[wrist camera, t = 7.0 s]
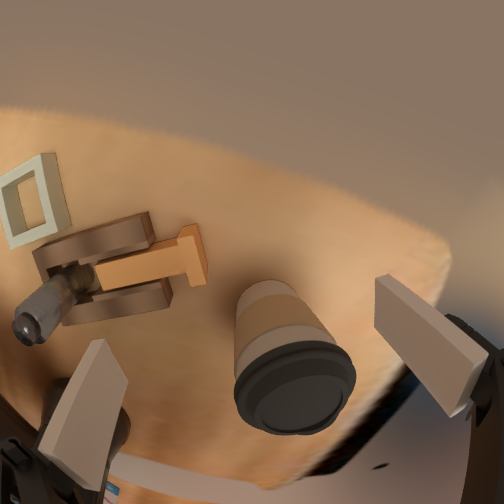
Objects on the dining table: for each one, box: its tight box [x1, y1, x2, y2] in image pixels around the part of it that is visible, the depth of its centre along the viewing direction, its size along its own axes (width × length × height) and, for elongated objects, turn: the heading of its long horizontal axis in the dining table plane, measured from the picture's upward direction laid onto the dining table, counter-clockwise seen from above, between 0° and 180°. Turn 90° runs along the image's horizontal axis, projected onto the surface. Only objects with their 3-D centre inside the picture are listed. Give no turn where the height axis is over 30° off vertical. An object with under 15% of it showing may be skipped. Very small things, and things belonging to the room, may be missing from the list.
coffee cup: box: [234, 280, 356, 435], centre depth 23 cm, size 9×9×15 cm
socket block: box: [32, 211, 173, 326], centre depth 25 cm, size 14×9×3 cm, turn 101°
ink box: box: [103, 481, 119, 504], centre depth 37 cm, size 9×5×12 cm, turn 111°
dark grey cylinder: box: [12, 260, 94, 346], centre depth 21 cm, size 4×4×12 cm
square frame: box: [0, 153, 72, 250], centre depth 22 cm, size 8×8×3 cm
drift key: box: [94, 224, 208, 291], centre depth 25 cm, size 10×4×4 cm, turn 101°
